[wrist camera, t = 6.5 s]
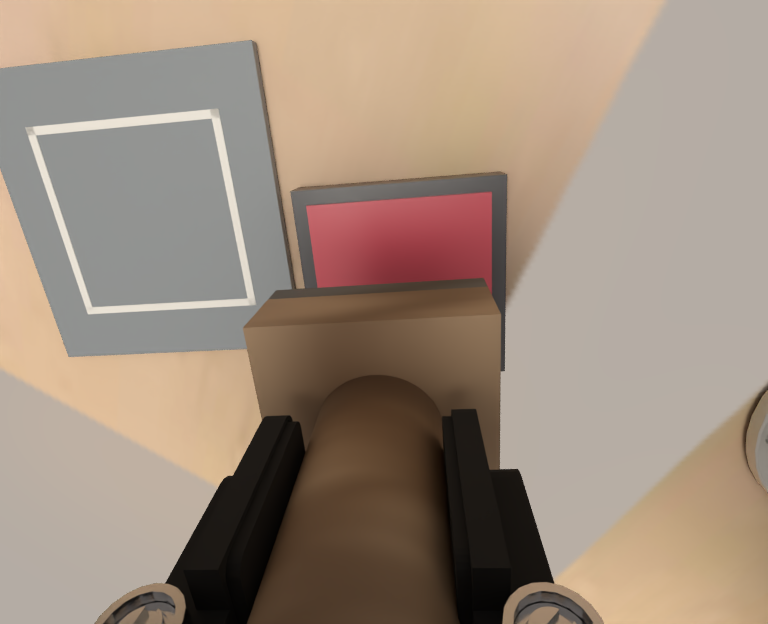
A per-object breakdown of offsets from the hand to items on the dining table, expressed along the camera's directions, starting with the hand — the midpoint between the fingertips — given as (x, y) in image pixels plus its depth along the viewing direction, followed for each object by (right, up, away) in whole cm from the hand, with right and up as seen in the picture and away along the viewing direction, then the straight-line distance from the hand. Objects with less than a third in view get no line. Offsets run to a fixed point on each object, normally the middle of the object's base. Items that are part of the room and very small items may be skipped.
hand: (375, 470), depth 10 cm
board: (-12, +8, +14) cm, 20 cm away
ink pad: (+1, +5, +14) cm, 15 cm away
